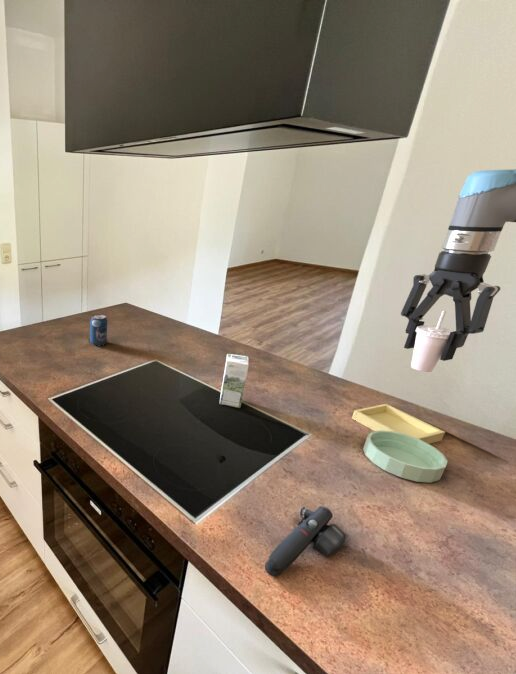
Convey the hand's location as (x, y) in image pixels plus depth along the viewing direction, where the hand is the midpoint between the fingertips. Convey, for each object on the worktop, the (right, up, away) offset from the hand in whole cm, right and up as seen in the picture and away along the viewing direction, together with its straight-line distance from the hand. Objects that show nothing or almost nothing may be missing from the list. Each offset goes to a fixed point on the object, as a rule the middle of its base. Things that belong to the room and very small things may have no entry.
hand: (427, 353), depth 83 cm
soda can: (-70, +1, +68) cm, 97 cm away
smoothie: (0, -4, +1) cm, 4 cm away
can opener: (-43, -33, -21) cm, 59 cm away
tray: (+2, -20, +10) cm, 23 cm away
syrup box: (-35, -16, +24) cm, 45 cm away
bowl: (-7, -25, -1) cm, 26 cm away
